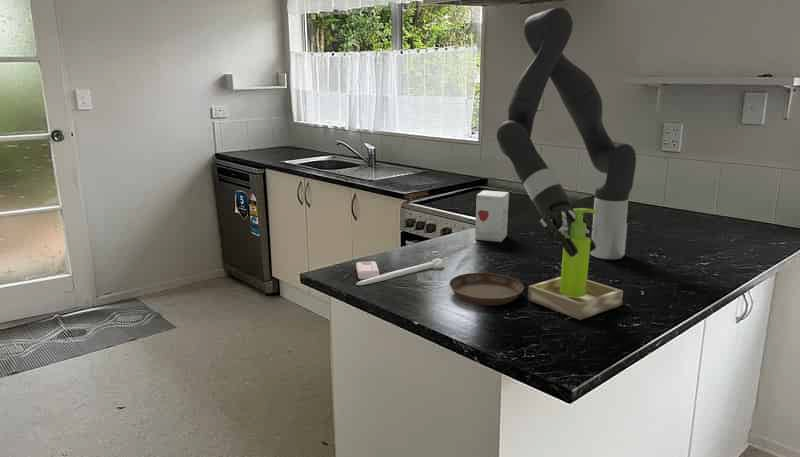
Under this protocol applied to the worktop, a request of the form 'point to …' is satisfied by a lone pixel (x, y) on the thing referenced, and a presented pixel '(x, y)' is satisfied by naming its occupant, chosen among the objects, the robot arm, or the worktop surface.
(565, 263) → the soap dispenser
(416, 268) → the white ball-headed stick
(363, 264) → the soap bar
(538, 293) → the birch crate
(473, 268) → the worktop surface
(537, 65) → the robot arm
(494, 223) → the supplement box
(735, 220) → the worktop surface
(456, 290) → the plant saucer
